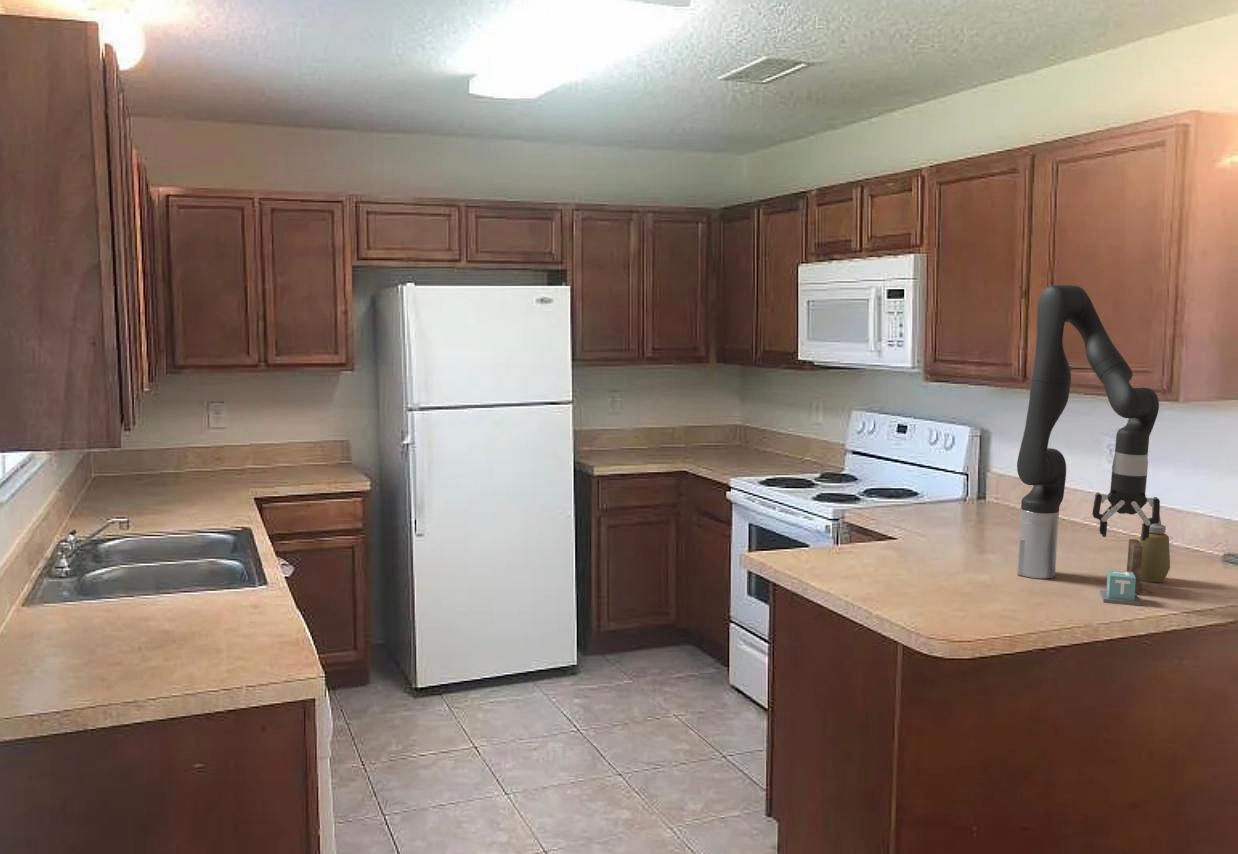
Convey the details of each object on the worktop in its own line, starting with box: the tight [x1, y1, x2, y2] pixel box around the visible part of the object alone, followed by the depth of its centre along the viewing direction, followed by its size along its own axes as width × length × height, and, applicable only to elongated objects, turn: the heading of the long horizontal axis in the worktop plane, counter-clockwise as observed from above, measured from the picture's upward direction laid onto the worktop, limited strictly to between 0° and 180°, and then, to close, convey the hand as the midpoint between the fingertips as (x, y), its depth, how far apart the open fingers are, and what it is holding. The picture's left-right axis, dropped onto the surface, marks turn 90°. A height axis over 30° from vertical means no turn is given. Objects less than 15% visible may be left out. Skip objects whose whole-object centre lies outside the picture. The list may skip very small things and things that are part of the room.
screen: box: [1126, 538, 1147, 596], centre depth 258 cm, size 5×8×12 cm, turn 161°
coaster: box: [1099, 589, 1142, 607], centre depth 250 cm, size 8×8×1 cm
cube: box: [1105, 569, 1136, 600], centre depth 250 cm, size 6×6×6 cm
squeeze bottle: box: [1138, 514, 1171, 583], centre depth 266 cm, size 8×8×18 cm
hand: (1123, 538), depth 248 cm, fingers open, 8 cm apart
